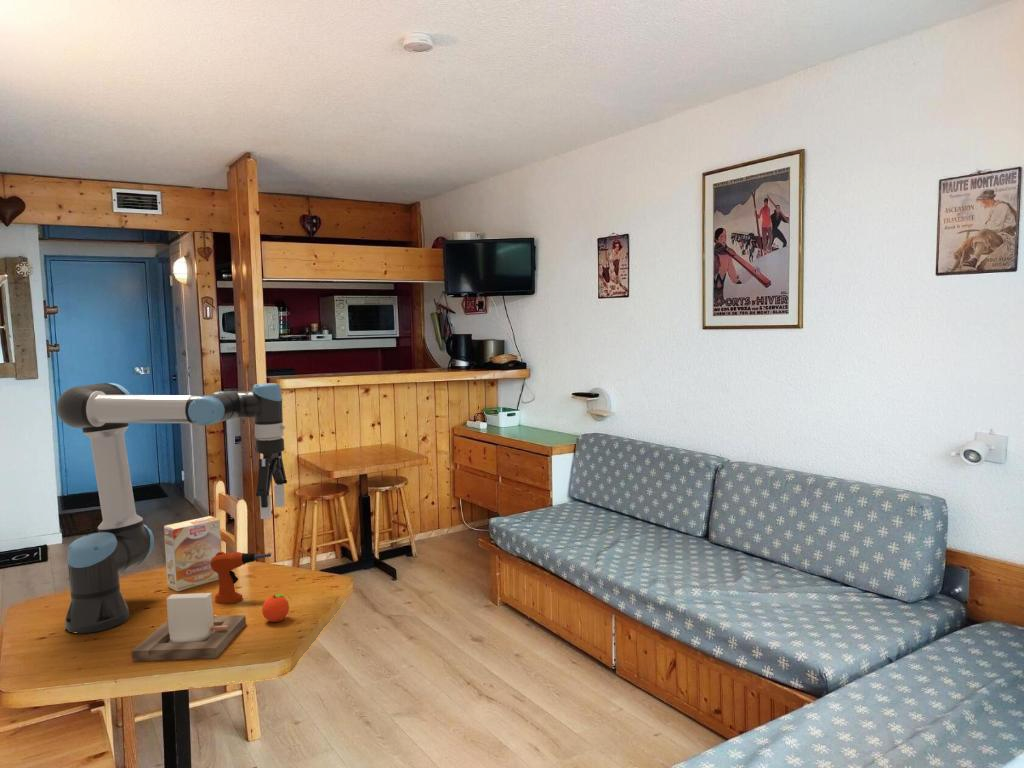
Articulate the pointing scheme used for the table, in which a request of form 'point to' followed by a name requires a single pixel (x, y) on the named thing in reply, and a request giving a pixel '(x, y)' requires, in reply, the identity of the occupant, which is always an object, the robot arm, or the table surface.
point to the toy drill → (230, 573)
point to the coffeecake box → (191, 552)
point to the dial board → (162, 649)
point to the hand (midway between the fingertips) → (273, 512)
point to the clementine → (275, 608)
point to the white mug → (191, 617)
